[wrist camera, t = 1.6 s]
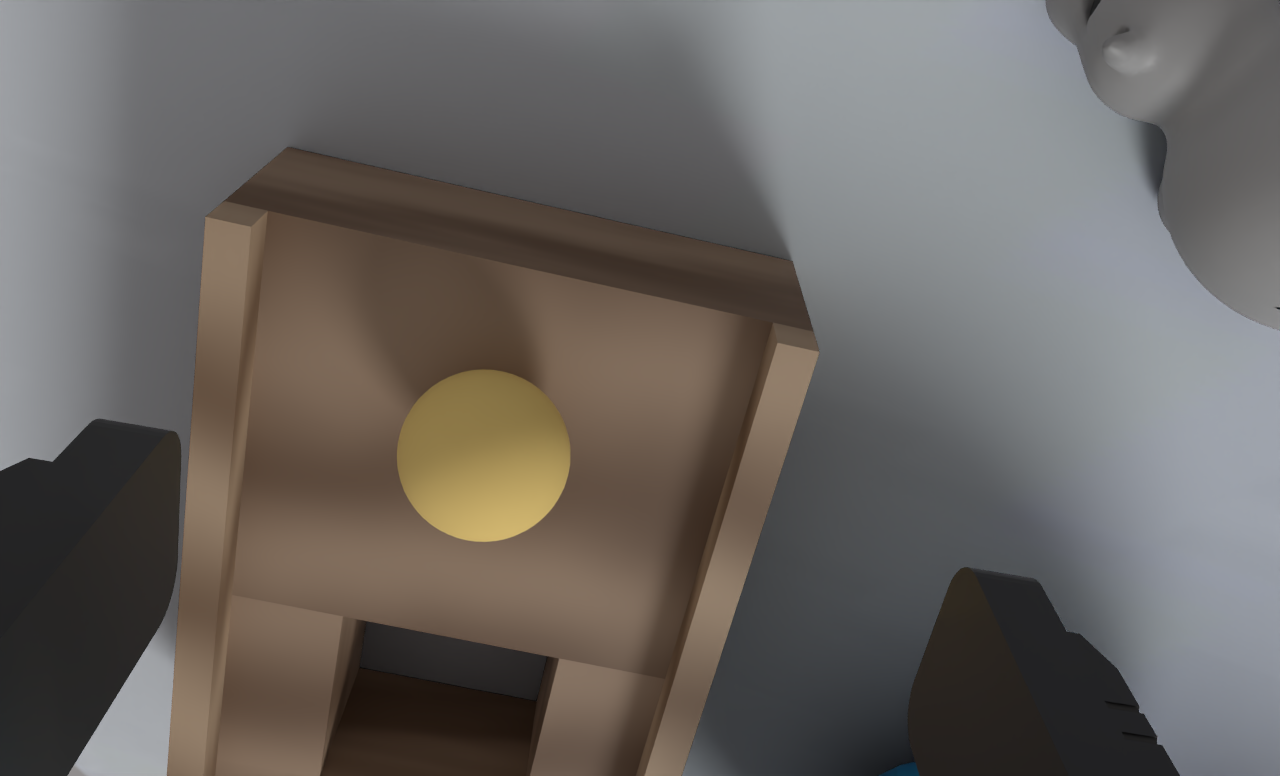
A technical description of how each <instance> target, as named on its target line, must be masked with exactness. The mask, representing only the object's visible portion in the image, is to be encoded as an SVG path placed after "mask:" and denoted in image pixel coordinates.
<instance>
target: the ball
mask: <svg viewBox="0 0 1280 776" xmlns="http://www.w3.org/2000/svg"><path fill="white" fill-rule="evenodd" d="M397 467H398V472H399V477H400V481H401V484H402V487H403V489H404V492H405V494H406V496H407V497H408V499H409V501H410V502H411V504H412V505H413V507H414V508H415V509H416V511H417V512H418V513H419V514H420V515H421V516H422V517H423V518H424V519H425V520H426V521H427V522H428V523H430V524H431V525H432V526H434V527H435V528H437V529H438V530H440V531H442V532H444V533H446V534H448V535H451V536H453V537H456V538H459V539H463V540H468V541H476V542H490V541H498V540H504V539H507V538H510V537H513V536H516V535H518V534H520V533H522V532H524V531H526V530H528V529H529V528H531V527H533V526H534V525H536V524H537V523H538V522H539V521H540V520H542V519H543V518H544V517H545V516H546V515H547V514H548V512H549V511H550V510H551V509H552V508H553V506H554V505H555V503H556V502H557V501H558V499H559V497H560V495H561V493H562V491H563V489H564V487H565V484H566V481H567V477H568V474H569V468H570V442H569V436H568V433H567V429H566V426H565V423H564V421H563V419H562V417H561V415H560V413H559V411H558V410H557V408H556V407H555V405H554V404H553V403H552V401H551V400H550V399H549V398H548V397H547V395H545V394H544V393H543V392H542V391H541V390H540V389H539V388H537V387H536V386H535V385H533V384H532V383H530V382H529V381H527V380H525V379H523V378H521V377H518V376H516V375H514V374H510V373H507V372H503V371H497V370H486V369H480V370H470V371H465V372H461V373H458V374H455V375H452V376H450V377H448V378H446V379H444V380H442V381H440V382H438V383H437V384H435V385H434V386H432V387H431V388H430V389H429V390H428V391H426V392H425V393H424V394H423V395H422V396H421V397H420V398H419V399H418V400H417V402H416V403H415V404H414V405H413V407H412V409H411V410H410V412H409V414H408V415H407V417H406V419H405V421H404V423H403V426H402V428H401V432H400V436H399V440H398V446H397Z"/></svg>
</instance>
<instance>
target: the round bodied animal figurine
mask: <svg viewBox="0 0 1280 776" xmlns="http://www.w3.org/2000/svg"><path fill="white" fill-rule="evenodd" d="M1046 8H1047V12H1048V15H1049V18H1050V20H1051V21H1052V23H1053V24H1054V26H1055V27H1056V28H1057V29H1058V31H1059V32H1060V33H1061V34H1062V35H1063V36H1064V37H1065V38H1067V39H1068V40H1069V41H1070V42H1072V43H1073V44H1074V45H1076V46H1077V49H1078V52H1079V55H1080V58H1081V61H1082V65H1083V68H1084V71H1085V74H1086V77H1087V80H1088V82H1089V84H1090V86H1091V88H1092V90H1093V91H1094V93H1095V94H1096V95H1097V97H1098V98H1099V99H1100V100H1101V101H1102V102H1103V103H1104V104H1105V105H1106V106H1108V107H1109V108H1110V109H1112V110H1113V111H1115V112H1116V113H1118V114H1120V115H1122V116H1125V117H1127V118H1130V119H1133V120H1137V121H1142V122H1147V123H1151V124H1154V125H1157V126H1159V127H1160V128H1161V129H1162V131H1163V132H1164V134H1165V136H1166V140H1167V154H1166V160H1165V165H1164V170H1163V179H1162V181H1161V184H1160V187H1159V191H1158V210H1159V214H1160V218H1161V220H1162V222H1163V224H1164V226H1165V227H1166V229H1167V230H1168V231H1169V232H1170V234H1171V237H1172V240H1173V242H1174V244H1175V246H1176V248H1177V250H1178V252H1179V254H1180V256H1181V258H1182V259H1183V261H1184V263H1185V264H1186V266H1187V267H1188V269H1189V270H1190V271H1191V273H1192V274H1193V275H1194V276H1195V278H1196V279H1197V280H1198V281H1199V282H1200V283H1201V284H1202V285H1203V286H1204V287H1205V288H1206V289H1207V290H1208V291H1209V292H1210V293H1211V294H1212V295H1213V296H1214V297H1216V298H1217V299H1218V300H1219V301H1221V302H1222V303H1223V304H1225V305H1226V306H1228V307H1229V308H1231V309H1232V310H1234V311H1235V312H1237V313H1239V314H1241V315H1243V316H1245V317H1247V318H1249V319H1250V320H1253V321H1255V322H1257V323H1260V324H1262V325H1265V326H1268V327H1271V328H1273V329H1277V330H1280V5H1279V0H1046Z"/></svg>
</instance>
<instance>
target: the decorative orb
mask: <svg viewBox="0 0 1280 776" xmlns="http://www.w3.org/2000/svg"><path fill="white" fill-rule="evenodd" d="M879 776H919V772H918V769H917V766H916V762H912V763H907V764H902V765H899V766H897V767H895V768H893V769H891V770H889V771H887V772H885V773H883V774H881V775H879Z"/></svg>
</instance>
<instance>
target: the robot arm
mask: <svg viewBox="0 0 1280 776" xmlns="http://www.w3.org/2000/svg"><path fill="white" fill-rule="evenodd" d="M180 475H181V444H180V440H179V437H178V435H177V433H176V432H174V431H169V430H163V429H157V428H151V427H145V426H139V425H134V424H128V423H122V422H116V421H110V420H104V419H96V420H94V421H92V422H91V423H90V424H89V425H88V426H87V427H86V428H85V429H84V430H83V431H82V432H81V433H80V434H79V435H78V436H77V437H76V438H75V439H74V440H73V441H72V442H71V443H70V444H69V445H68V446H67V447H66V449H65V450H64V451H63V452H62V453H61V454H60V455H59V456H58V457H57V458H56V459H55V460H54V461H53V462H50V461H44V460H38V459H32V458H28V459H26V460H23V461H21V462H19V463H17V464H15V465H12V466H10V467H8V468H6V469H4V470H2V471H0V776H67V775H68V774H69V772H70V770H71V769H72V767H73V766H74V764H75V762H76V761H77V759H78V757H79V756H80V754H81V753H82V751H83V749H84V748H85V746H86V744H87V743H88V741H89V740H90V738H91V736H92V735H93V733H94V732H95V730H96V728H97V727H98V725H99V723H100V722H101V720H102V719H103V717H104V715H105V714H106V712H107V710H108V709H109V707H110V706H111V704H112V702H113V701H114V699H115V698H116V696H117V694H118V693H119V691H120V689H121V688H122V686H123V685H124V683H125V681H126V680H127V678H128V676H129V675H130V673H131V672H132V670H133V668H134V667H135V665H136V664H137V662H138V660H139V659H140V657H141V655H142V654H143V652H144V651H145V649H146V647H147V646H148V644H149V642H150V641H151V639H152V638H153V636H154V634H155V633H156V631H157V629H158V628H159V626H160V624H161V622H162V620H163V618H164V616H165V613H166V611H167V608H168V605H169V602H170V599H171V595H172V592H173V588H174V583H175V578H176V571H177V560H178V532H179V503H180ZM908 735H909V741H910V745H911V749H912V752H913V756H914V759H915V762H916V766H917V769H918V772H919V776H1180V775H1179V773H1178V772H1177V770H1176V768H1175V766H1174V765H1173V763H1172V761H1171V760H1170V758H1169V756H1168V755H1167V753H1166V751H1165V749H1164V748H1163V746H1162V745H1158V744H1157V736H1156V734H1155V732H1154V731H1153V729H1152V727H1151V725H1150V724H1149V722H1148V720H1147V719H1146V717H1145V715H1144V714H1141V713H1139V705H1138V703H1137V702H1136V700H1135V698H1134V696H1133V695H1132V693H1131V691H1130V690H1129V688H1128V686H1127V684H1126V683H1125V681H1124V679H1123V678H1122V676H1121V674H1120V672H1119V671H1118V669H1117V668H1116V667H1115V666H1114V665H1112V664H1111V663H1110V662H1109V661H1108V660H1107V659H1106V658H1105V657H1104V656H1103V655H1102V654H1101V653H1100V652H1099V651H1097V650H1096V649H1095V648H1094V647H1093V646H1092V645H1091V644H1090V643H1089V642H1088V641H1087V640H1086V639H1085V638H1083V637H1082V636H1081V635H1080V634H1077V633H1070V632H1066V630H1065V628H1064V626H1063V624H1062V623H1061V621H1060V619H1059V617H1058V615H1057V613H1056V612H1055V610H1054V608H1053V606H1052V604H1051V602H1050V601H1049V599H1048V597H1047V595H1046V593H1045V591H1044V590H1043V588H1042V586H1041V585H1040V583H1039V582H1038V581H1037V580H1035V579H1033V578H1027V577H1021V576H1015V575H1010V574H1004V573H998V572H992V571H986V570H980V569H974V568H968V567H964V568H962V569H960V570H959V571H958V572H957V573H956V574H955V576H954V577H953V579H952V581H951V583H950V585H949V588H948V590H947V593H946V596H945V598H944V601H943V604H942V607H941V609H940V612H939V615H938V617H937V620H936V623H935V626H934V628H933V631H932V634H931V636H930V639H929V642H928V645H927V647H926V650H925V653H924V655H923V658H922V661H921V664H920V666H919V669H918V672H917V674H916V677H915V680H914V683H913V686H912V690H911V694H910V700H909V708H908Z"/></svg>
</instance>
